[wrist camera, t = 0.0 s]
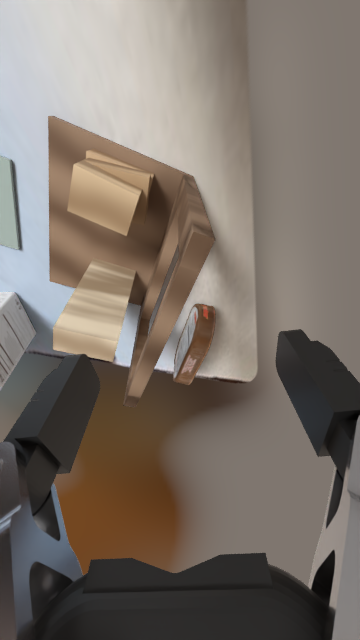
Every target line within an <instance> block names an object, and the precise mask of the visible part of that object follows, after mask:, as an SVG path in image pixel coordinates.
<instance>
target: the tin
mask: <svg viewBox="0 0 360 640" xmlns="http://www.w3.org/2000/svg"><path fill="white" fill-rule="evenodd" d="M214 328H215V309H214V307H213V306H207V305H203V304H195V305H194V306H193V308H192V310H191V312H190V314H189V317H188V319H187V322H186V324H185V327H184V329H183V332H182V335H181V337H180V340H179V343H178V346H177V350H176V354H175V360H174V365H175V366H174V375H173V380H174V381H175V382H178V383H183V384H187V385H189V384H191V382H192V380H193V378H194V377H195V375H196V373H197V371H198V369H199V367H200V365H201V363H202V362H203V360H204V358H205V356H206V354H207V352H208V350H209V348H210V345H211V342H212V338H213V334H214Z"/></svg>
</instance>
